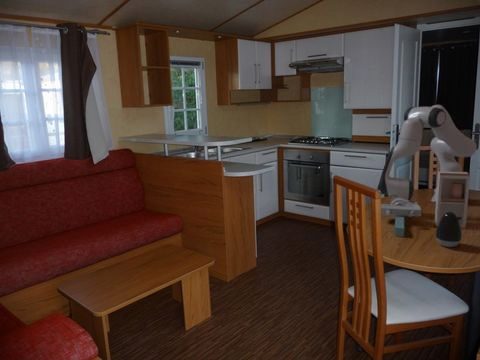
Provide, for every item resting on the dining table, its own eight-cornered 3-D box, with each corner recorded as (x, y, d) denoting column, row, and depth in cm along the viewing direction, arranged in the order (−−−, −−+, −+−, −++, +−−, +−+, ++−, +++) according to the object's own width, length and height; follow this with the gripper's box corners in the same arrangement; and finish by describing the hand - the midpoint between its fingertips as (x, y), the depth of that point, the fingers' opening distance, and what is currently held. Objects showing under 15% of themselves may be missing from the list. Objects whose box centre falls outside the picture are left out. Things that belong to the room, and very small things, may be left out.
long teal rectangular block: (403, 224, 211) (403, 216, 210) (403, 237, 193) (404, 228, 192) (395, 224, 212) (395, 215, 211) (394, 236, 195) (395, 227, 194)
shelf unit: (434, 220, 214) (438, 169, 209) (462, 222, 210) (467, 170, 204) (436, 225, 206) (439, 173, 200) (465, 227, 202) (470, 173, 196)
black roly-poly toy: (451, 251, 175) (453, 217, 172) (430, 243, 184) (432, 211, 181) (466, 246, 179) (469, 213, 176) (445, 239, 188) (447, 207, 185)
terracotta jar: (449, 197, 207) (451, 182, 206) (461, 198, 206) (462, 182, 204) (451, 200, 203) (452, 184, 201) (462, 201, 201) (463, 185, 199)
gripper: (379, 200, 220) (378, 207, 208) (420, 202, 213) (422, 209, 201) (378, 211, 222) (377, 219, 209) (419, 213, 215) (421, 222, 202)
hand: (399, 214), depth 205 cm, fingers open, 8 cm apart
